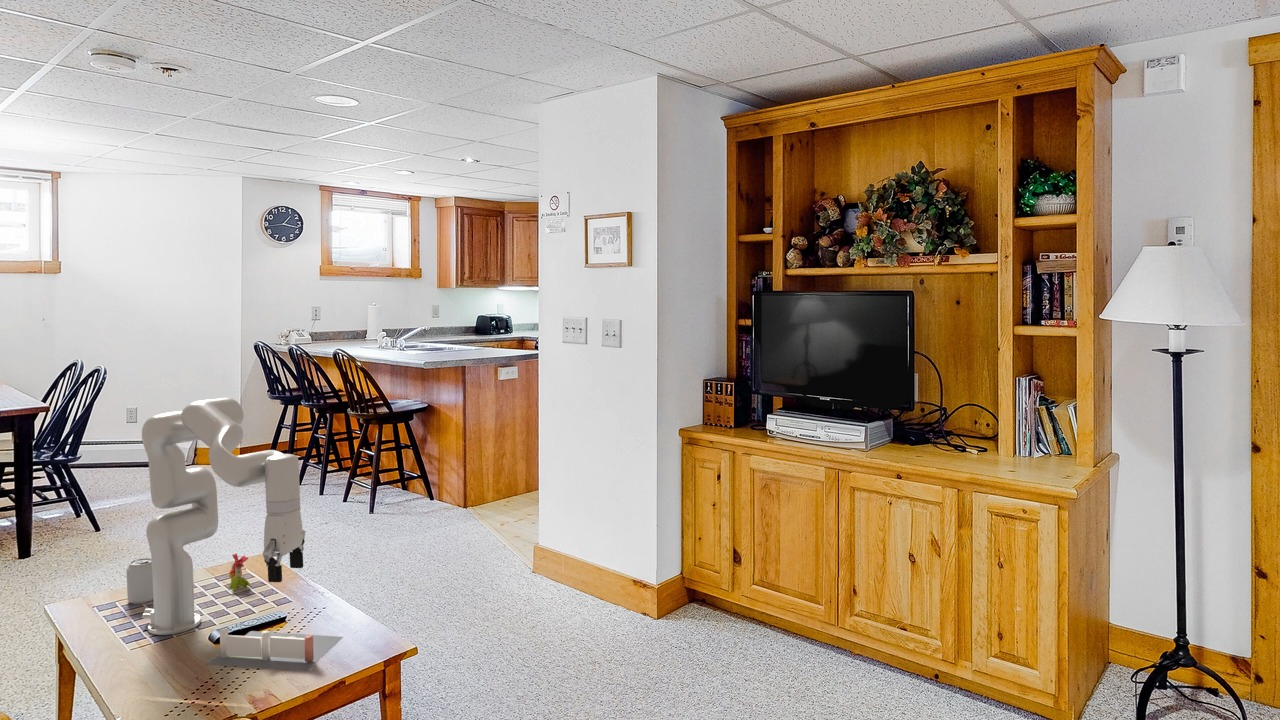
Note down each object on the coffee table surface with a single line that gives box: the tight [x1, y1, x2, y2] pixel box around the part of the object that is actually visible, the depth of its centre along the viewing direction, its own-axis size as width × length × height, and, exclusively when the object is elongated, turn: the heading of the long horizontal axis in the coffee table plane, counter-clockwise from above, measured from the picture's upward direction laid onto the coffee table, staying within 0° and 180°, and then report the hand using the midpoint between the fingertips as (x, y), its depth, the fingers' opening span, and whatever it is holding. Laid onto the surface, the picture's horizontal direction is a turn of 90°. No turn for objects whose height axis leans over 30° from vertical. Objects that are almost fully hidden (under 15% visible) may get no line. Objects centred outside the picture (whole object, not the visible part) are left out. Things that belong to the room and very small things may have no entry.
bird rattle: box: [228, 553, 252, 592], centre depth 242 cm, size 6×11×9 cm
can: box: [126, 557, 153, 605], centre depth 231 cm, size 8×8×12 cm
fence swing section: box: [270, 634, 314, 662], centre depth 194 cm, size 11×2×6 cm, turn 85°
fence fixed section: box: [219, 627, 271, 661], centre depth 195 cm, size 13×2×7 cm, turn 85°
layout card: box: [205, 630, 344, 672], centre depth 200 cm, size 26×19×1 cm
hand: (286, 574), depth 190 cm, fingers open, 9 cm apart
